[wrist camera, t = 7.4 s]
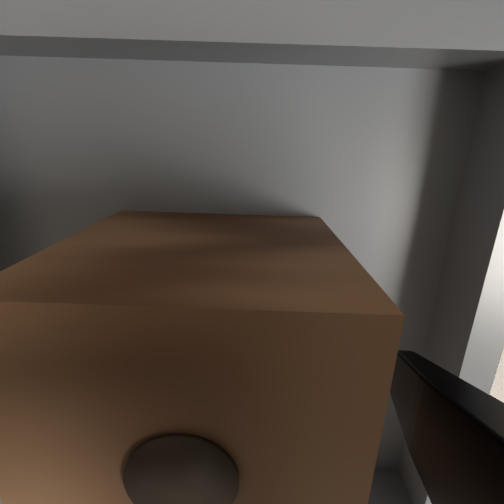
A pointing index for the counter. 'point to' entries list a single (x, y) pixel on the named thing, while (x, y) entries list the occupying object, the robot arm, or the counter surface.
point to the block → (193, 364)
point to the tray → (278, 145)
